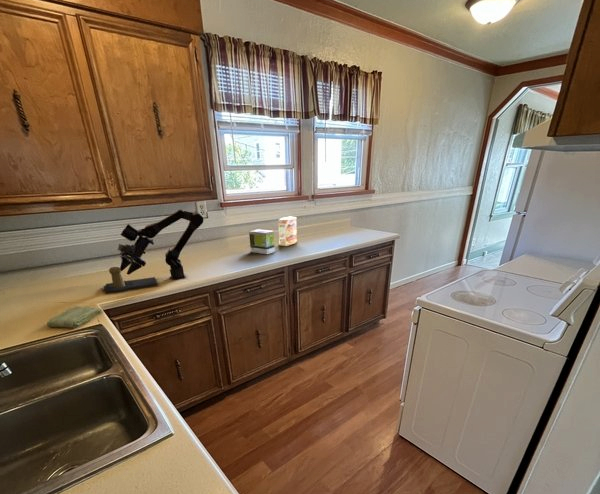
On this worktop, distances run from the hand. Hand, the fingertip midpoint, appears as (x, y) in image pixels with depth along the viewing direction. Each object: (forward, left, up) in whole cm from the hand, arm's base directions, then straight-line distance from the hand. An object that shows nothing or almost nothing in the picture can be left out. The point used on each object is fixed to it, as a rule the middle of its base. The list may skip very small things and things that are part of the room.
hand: (123, 272), depth 168 cm
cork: (+4, +1, -8) cm, 9 cm away
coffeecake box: (-116, -50, -8) cm, 127 cm away
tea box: (-89, -35, -8) cm, 96 cm away
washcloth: (+20, +36, -8) cm, 42 cm away
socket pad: (-2, +1, -7) cm, 8 cm away
